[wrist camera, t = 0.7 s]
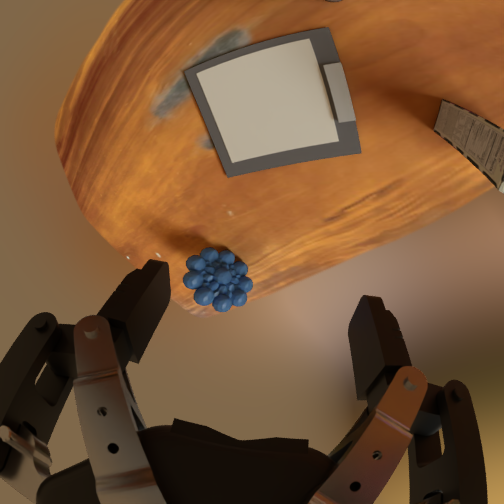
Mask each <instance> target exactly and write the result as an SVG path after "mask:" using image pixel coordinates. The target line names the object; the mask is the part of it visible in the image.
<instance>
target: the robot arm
mask: <svg viewBox="0 0 504 504" xmlns="http://www.w3.org/2000/svg"><path fill="white" fill-rule="evenodd" d="M170 296H171V288H170V276H169V265H168V263H167V262H163V261H158V260H153V259H150V260H148V261H147V263H146V264H145V265H144V267H143V268H142V269H136V270H134V271H132V272H131V273H129V274H128V275H127V276H126V277H125V278H124V279H123V281H122V282H121V284H120V285H119V286H118V287H117V289H116V291H114V292H113V294H112V295H111V296H110V298H109V299H108V300H107V301H106V303H105V304H104V306H103V307H102V308H101V310H100V311H99V312H98V314H97V315H90V316H86V317H84V318H82V319H81V320H80V321H79V322H78V323H77V324H76V325H70V324H58V322H57V320H56V318H55V316H54V315H53V314H51V313H48V312H43V313H39V314H37V315H35V316H34V317H33V318H32V319H31V320H30V321H29V322H28V323H27V325H26V326H25V328H24V329H23V330H22V332H21V333H20V335H19V336H18V337H17V339H16V340H15V342H14V343H13V345H12V346H11V348H10V349H9V351H8V352H7V354H6V355H5V357H4V358H3V360H2V362H1V363H0V478H2V479H3V480H4V481H5V482H7V483H8V484H9V485H10V486H12V487H13V488H14V489H15V490H17V491H18V492H19V493H21V494H22V495H23V496H25V497H26V498H27V499H29V500H30V501H32V502H33V503H35V504H373V503H374V501H375V500H376V498H377V497H378V496H379V494H380V493H381V491H382V490H383V488H384V487H385V485H386V484H387V482H388V480H389V479H390V477H391V475H392V474H393V472H394V471H395V469H396V467H397V465H398V464H399V462H400V460H401V458H402V457H403V455H404V453H405V451H406V449H407V447H408V455H409V479H410V504H488V500H487V482H486V472H485V464H484V457H483V450H482V444H481V439H480V434H479V429H478V424H477V420H476V416H475V411H474V408H473V404H472V400H471V396H470V393H469V391H468V389H467V387H466V386H465V385H464V384H463V383H462V382H460V381H458V380H451V381H449V382H448V383H447V384H446V385H445V386H444V387H440V386H437V385H433V384H430V383H427V379H426V377H425V375H424V374H423V373H422V372H421V371H420V370H419V369H417V368H415V367H412V364H411V361H410V357H409V354H408V351H407V348H406V345H405V342H404V339H403V336H402V333H401V331H400V328H399V324H398V322H397V319H396V318H395V317H394V316H393V314H392V313H391V312H390V311H389V310H385V306H384V304H383V301H382V299H381V297H375V296H368V295H363V296H362V297H361V299H360V301H359V304H358V306H357V308H356V310H355V312H354V315H353V317H352V319H351V321H350V324H349V329H348V337H349V343H350V350H351V356H352V363H353V370H354V377H355V385H356V393H357V399H358V400H367V403H368V406H367V407H366V408H365V409H364V411H363V412H362V414H361V415H360V416H359V418H358V419H357V421H356V422H355V423H354V425H353V426H352V427H351V429H350V430H349V431H348V433H347V434H346V435H345V437H344V438H343V439H342V440H341V442H340V443H339V444H338V445H337V446H336V447H335V448H334V449H333V450H332V451H331V452H330V453H329V454H328V455H325V454H323V453H322V452H320V451H318V450H315V449H313V448H309V447H308V441H309V440H306V439H290V438H277V437H275V438H266V439H256V440H243V441H242V440H237V439H235V438H232V437H230V436H227V435H225V434H222V433H220V432H218V431H216V430H214V429H212V428H209V427H207V426H203V425H199V424H195V423H191V422H187V421H183V420H179V419H176V418H174V421H173V424H172V425H161V426H154V427H150V428H147V427H146V424H145V422H144V419H143V417H142V415H141V413H140V410H139V408H138V405H137V402H136V400H135V396H134V393H133V390H132V387H131V383H130V380H129V377H128V373H127V370H126V366H127V364H128V362H129V361H132V362H135V363H139V361H140V359H141V357H142V355H143V353H144V351H145V349H146V347H147V345H148V343H149V341H150V339H151V337H152V335H153V333H154V331H155V329H156V328H157V326H158V324H159V322H160V320H161V318H162V316H163V314H164V312H165V310H166V308H167V306H168V304H169V301H170ZM45 362H46V364H47V365H46V367H45V368H44V370H43V372H42V374H41V376H40V378H39V379H38V381H37V383H36V385H35V380H36V377H37V376H38V374H39V373H40V371H41V369H42V367H43V365H44V364H45ZM72 387H74V393H75V400H76V405H77V411H78V416H79V420H80V425H81V430H82V434H83V438H84V442H85V446H86V449H87V453H88V457H89V458H88V459H86V460H84V461H82V462H80V463H78V464H76V465H73V466H71V467H69V468H67V469H64V470H62V471H60V472H58V473H55V474H53V475H51V474H50V470H49V467H51V465H52V459H51V457H50V451H49V449H48V447H47V444H48V442H49V439H50V437H51V434H52V432H53V429H54V427H55V425H56V422H57V420H58V418H59V415H60V413H61V411H62V409H63V407H64V404H65V402H66V400H67V398H68V396H69V394H70V392H71V389H72ZM441 428H442V431H443V438H444V445H445V449H444V453H443V455H442V452H441V444H440V437H439V429H441Z"/></svg>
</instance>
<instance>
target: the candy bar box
mask: <svg viewBox="0 0 504 504" xmlns="http://www.w3.org/2000/svg"><path fill="white" fill-rule="evenodd" d="M434 132H436V133H437V134H438V135H440V136H441V137H442V138H443V139H444V140H446V141H447V142H448V143H449V144H451V145H452V146H453V147H454V148H455V149H457V150H458V151H459V152H460V153H461V154H462V155H463V156H465V157H466V158H467V159H468V160H469V161H470V162H471V163H472V164H473V165H474V166H475V167H476V168H477V169H479V170H480V171H481V172H482V173H483V174H484V175H485V176H486V177H487V178H488V179H489V180H490V181H491V182H492V183H493V184H494V186H495V187H496V188H497V189H498V190H499V191H501V192H502V193H504V129H502V128H500V127H499V126H497V125H495V124H493V123H492V122H490V121H488V120H486V119H484V118H482V117H480V116H479V115H477V114H475V113H473V112H471V111H469V110H466V109H464V108H462V107H460V106H458V105H456V104H454V103H451V102H449V101H447V100H444V99H442V102H441V105H440V110H439V114H438V117H437V120H436V124H435V127H434Z"/></svg>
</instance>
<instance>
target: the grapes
mask: <svg viewBox="0 0 504 504" xmlns="http://www.w3.org/2000/svg"><path fill="white" fill-rule="evenodd" d="M234 261H235V256H234V254H233V253H232V252H231V251H228V250H223V251H221V252H220V253H219V254H218V252H217V250H215V249H214V248H211V247H209V248H205V249H203V250H202V251H201V253H200V256H199V255H193V256H191V257H189V258H188V259H187V261H186V266H187V268H188V269H189V272H188V273H186V274H185V275H184V277H183V283H184V285H185V286H186V287H187V288H189V289H197V290H196V291H195V293H194V300H195V301H196V303H197V304H199V305H202V306H205V305H209V304H211V303H212V306H213V307H214V309H215V310H216V311H219V312H226V311H228V310H230V308H231V306H232V305H234V306H242V305H244V304H245V303H246V301H247V294H246V293H247V292H249V291H250V290H251V289H252V287H253V282H252V280H251V279H250V278H249V277H246V276H245V275H246V274H247V272H248V267H247V265H246V264H245V263H244V262H241V261H236V262H235V263H234Z"/></svg>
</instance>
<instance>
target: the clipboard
mask: <svg viewBox="0 0 504 504" xmlns="http://www.w3.org/2000/svg"><path fill="white" fill-rule="evenodd" d="M184 73H185V75H186V77H187V80H188V82H189V85H190V87H191V89H192V92H193V94H194V97H195V99H196V102H197V104H198V106H199V109H200V111H201V114H202V116H203V118H204V121H205V123H206V126H207V128H208V131H209V133H210V135H211V138H212V140H213V143H214V145H215V148H216V150H217V152H218V155H219V157H220V160H221V162H222V165H223V167H224V170H225V172H226V174H227V177H228V178H229V177H233V176H238V175H242V174H246V173H251V172H255V171H260V170H265V169H270V168H275V167H280V166H285V165H290V164H296V163H301V162H307V161H313V160H319V159H325V158H331V157H338V156H345V155H352V154H360V153H361V147H360V141H359V136H358V131H357V126H356V122H355V120H356V119H355V114H354V110H353V105H352V101H351V97H350V93H349V89H348V85H347V82H346V78H345V75H344V71H343V68H342V64H341V62H340V60H339V57H338V53H337V50H336V47H335V44H334V41H333V38H332V35H331V33H330V30H329V27H326V28H320V29H315V30H309V31H304V32H300V33H295V34H291V35H286V36H282V37H278V38H275V39H271V40H267V41H264V42H260V43H257V44H254V45H251V46H247V47H244V48H241V49H238V50H236V51H233V52H230V53H227V54H224V55H222V56H219V57H217V58H214V59H212V60H209V61H207V62H204V63H202V64H199V65H197V66H195V67H193V68H190V69H188V70H186V71H184Z"/></svg>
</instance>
